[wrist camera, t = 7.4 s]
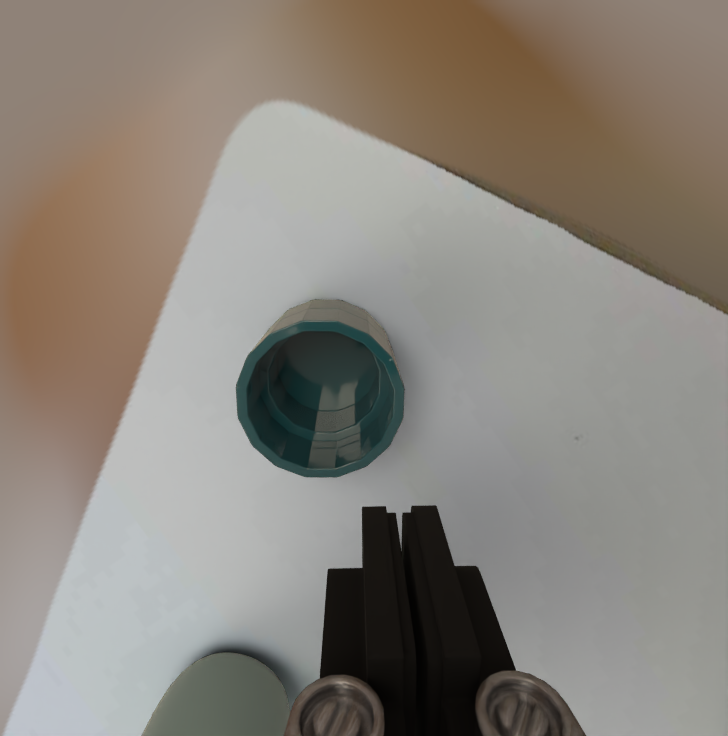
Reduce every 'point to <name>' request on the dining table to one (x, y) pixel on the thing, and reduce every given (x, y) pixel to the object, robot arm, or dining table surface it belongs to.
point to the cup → (222, 700)
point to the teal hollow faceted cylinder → (321, 390)
